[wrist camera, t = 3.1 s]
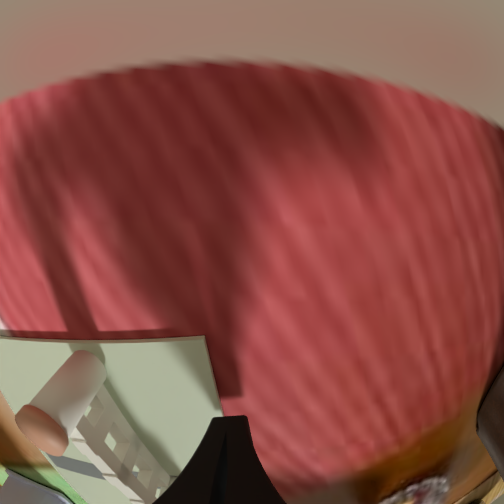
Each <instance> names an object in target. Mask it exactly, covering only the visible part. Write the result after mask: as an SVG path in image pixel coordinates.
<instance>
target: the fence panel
mask: <svg viewBox="0 0 504 504" xmlns="http://www.w3.org/2000/svg"><path fill="white" fill-rule="evenodd" d="M106 376H107V374H106V369H105V367H104V365H103V363H102V362H101V361H100V360H99V359H98V358H97V357H96V356H95V355H94V354H92V353H90V352H88V351H86V350H77V351H75V352H74V353H73V354H72V355H71V356H70V357H69V358H68V359H67V360H66V361H65V363H64V364H63V365H62V366H61V367H60V368H59V369H58V370H57V371H56V373H55V374H54V375H53V376H52V377H51V378H50V379H49V381H48V382H47V383H46V384H45V385H44V386H43V387H42V389H41V390H40V391H39V392H38V393H37V394H36V396H35V397H34V398H33V399H32V400H31V402H30V403H29V404H26V405H23V406H22V408H21V409H20V410H19V411H18V412H17V414H16V415H15V421H16V423H17V425H18V427H19V429H20V430H21V432H22V433H23V434H24V435H25V436H26V438H27V439H28V440H29V441H31V442H32V443H33V444H34V445H35V446H37V447H38V448H39V449H41V450H42V451H44V452H46V453H48V454H50V455H53V456H62V455H63V453H64V452H65V450H66V448H67V446H68V445H69V437H71V439H72V443H73V444H74V445H75V446H76V447H77V449H78V450H79V451H80V452H81V453H82V454H83V455H86V456H87V457H88V459H89V460H90V461H91V462H92V463H93V464H94V465H95V466H96V467H97V468H98V469H99V470H100V471H101V473H102V474H103V477H104V478H105V479H106V480H107V481H108V482H109V483H110V484H111V485H113V486H116V487H117V488H118V489H119V490H120V491H121V492H122V493H123V494H124V495H125V496H126V497H128V498H129V499H130V502H131V503H132V504H152V503H153V502H154V501H155V500H156V499H157V498H156V497H155V495H156V491H157V487H168V485H169V481H170V476H169V474H168V473H167V472H166V471H165V470H164V469H163V468H162V466H161V465H160V464H159V463H158V462H157V460H156V459H155V458H154V457H153V455H152V454H151V453H150V452H149V450H148V449H147V448H146V446H145V445H144V444H143V443H142V441H141V440H140V439H139V437H138V436H137V434H136V433H135V432H134V430H133V429H132V428H131V426H130V425H129V423H128V422H127V420H126V419H125V417H124V416H123V414H122V413H121V411H120V410H119V408H118V407H117V405H116V404H115V402H114V401H113V399H112V397H111V396H110V394H109V393H108V391H107V389H106V388H105V386H104V384H103V383H104V381H105V380H106ZM88 406H90V407H91V410H90V411H89V413H88V415H87V416H86V417H85V415H84V413H85V411H86V409H87V408H88ZM108 432H109V434H110V435H111V436H112V438H113V439H114V440H115V441H116V445H115V447H114V450H113V452H112V450H111V449H110V448H109V447H108V445H107V444H106V443H105V442H104V441H105V439H106V437H107V434H108ZM134 464H135V465H136V467H137V468H138V469H139V473H138V476H137V478H136V477H135V476H134V475H133V474H132V470H133V467H134Z"/></svg>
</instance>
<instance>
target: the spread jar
mask: <svg viewBox="0 0 504 504" xmlns="http://www.w3.org/2000/svg"><path fill="white" fill-rule="evenodd" d="M469 504H485V503H484V501H483V500H481V499H477V500H475V501H473V502H471V503H469Z"/></svg>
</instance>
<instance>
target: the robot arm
mask: <svg viewBox="0 0 504 504" xmlns="http://www.w3.org/2000/svg"><path fill="white" fill-rule="evenodd" d="M5 471H6V472H7V474H8V475H9V476H8V478H7V480H6V481H5V483H4V484H3V486H2V488H1V489H0V504H73V503H72V502H71V501H70V500H69V499H68V498H67V497H66V496H65V495H63V494H62V493H60V492H57V491H55V490H52V489H50V488H47V487H45V486H43V485H40V484H38V483H36V482H33V481H31V480H29V479H27V478H25V477H23V476H21V475H19V474H17V473H15V472H13V471H11V470H9V469H6V470H5ZM152 504H286V503H285V501H284V500H283V499H282V497H281V496H280V495H279V493H278V492H277V490H276V489H275V487H274V486H273V484H272V483H271V481H270V479H269V478H268V476H267V474H266V472H265V471H264V469H263V467H262V465H261V463H260V461H259V458H258V456H257V454H256V451H255V449H254V446H253V441H252V437H251V432H250V427H249V422H248V418H247V416H245V415H240V416H225V417H213V418H212V419H211V422H210V424H209V426H208V428H207V431H206V433H205V435H204V437H203V438H202V440H201V442H200V444H199V446H198V447H197V449H196V451H195V452H194V454H193V456H192V457H191V459H190V460H189V462H188V463H187V465H186V466H185V468H184V469H183V470H182V472H181V473H180V474H179V476H178V477H177V478H176V479H175V481H174V482H173V483H172V484H171V485H170V486H169V487H168V489H167V490H166V491H165V492H164V493H163V494H162V495H161V496H160V497H159V498H158V499H156V500H155V501H154V502H153V503H152Z"/></svg>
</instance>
